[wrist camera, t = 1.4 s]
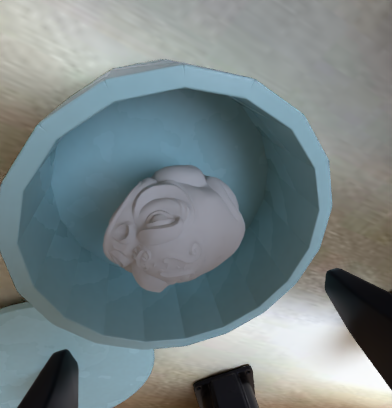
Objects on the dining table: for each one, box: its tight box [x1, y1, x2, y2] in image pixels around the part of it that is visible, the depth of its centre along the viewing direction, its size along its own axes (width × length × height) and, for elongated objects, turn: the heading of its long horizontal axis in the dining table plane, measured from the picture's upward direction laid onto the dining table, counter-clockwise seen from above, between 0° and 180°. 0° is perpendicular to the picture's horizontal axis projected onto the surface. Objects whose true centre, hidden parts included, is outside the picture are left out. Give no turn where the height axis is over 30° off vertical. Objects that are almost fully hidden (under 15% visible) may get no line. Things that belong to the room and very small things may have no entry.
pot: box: [0, 59, 332, 350], centre depth 15 cm, size 14×15×6 cm
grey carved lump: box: [103, 165, 245, 292], centre depth 14 cm, size 6×7×7 cm
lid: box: [0, 302, 154, 408], centre depth 20 cm, size 15×15×6 cm
